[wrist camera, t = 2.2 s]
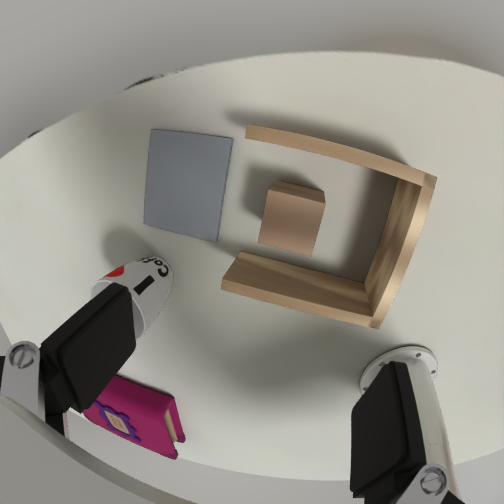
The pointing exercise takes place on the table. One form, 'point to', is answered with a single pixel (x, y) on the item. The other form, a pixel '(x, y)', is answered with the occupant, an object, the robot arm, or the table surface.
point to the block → (292, 217)
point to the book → (138, 416)
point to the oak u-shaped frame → (330, 286)
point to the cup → (141, 288)
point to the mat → (186, 182)
